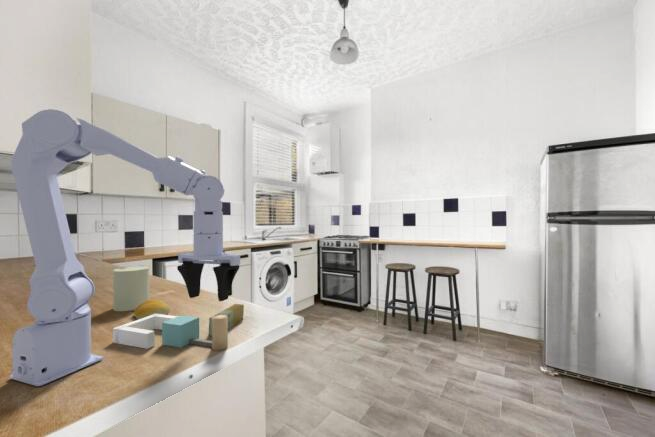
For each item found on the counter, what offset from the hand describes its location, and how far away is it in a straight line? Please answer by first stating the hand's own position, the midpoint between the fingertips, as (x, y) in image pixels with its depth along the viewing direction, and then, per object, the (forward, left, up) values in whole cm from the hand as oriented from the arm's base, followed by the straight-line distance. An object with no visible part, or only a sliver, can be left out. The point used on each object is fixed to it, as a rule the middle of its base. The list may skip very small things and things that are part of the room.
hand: (208, 298), depth 60 cm
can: (+14, +41, -10) cm, 45 cm away
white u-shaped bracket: (-1, +14, -9) cm, 17 cm away
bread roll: (+10, +29, -10) cm, 32 cm away
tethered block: (-1, +2, -9) cm, 10 cm away
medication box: (+10, +3, -10) cm, 14 cm away
